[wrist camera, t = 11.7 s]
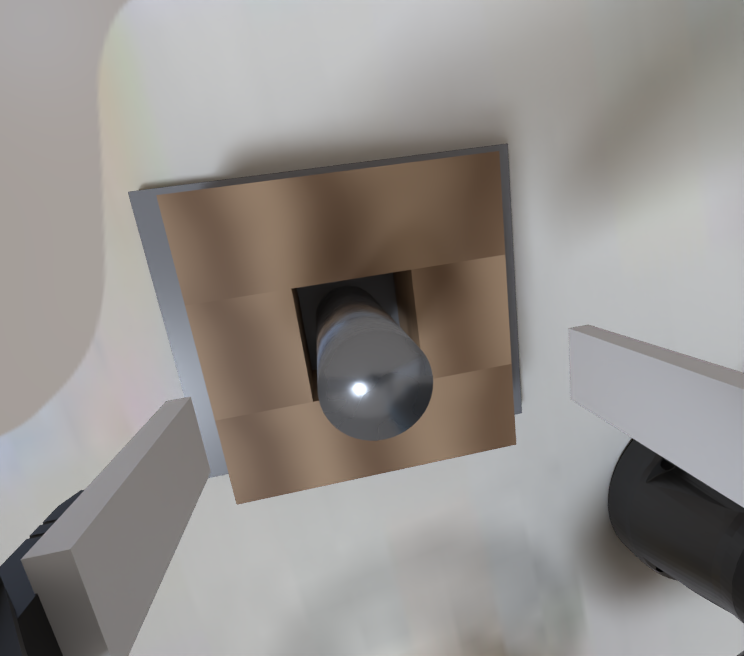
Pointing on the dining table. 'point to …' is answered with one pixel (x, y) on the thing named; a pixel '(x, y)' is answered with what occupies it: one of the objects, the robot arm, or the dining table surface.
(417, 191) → the socket
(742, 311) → the dining table surface
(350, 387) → the peg
